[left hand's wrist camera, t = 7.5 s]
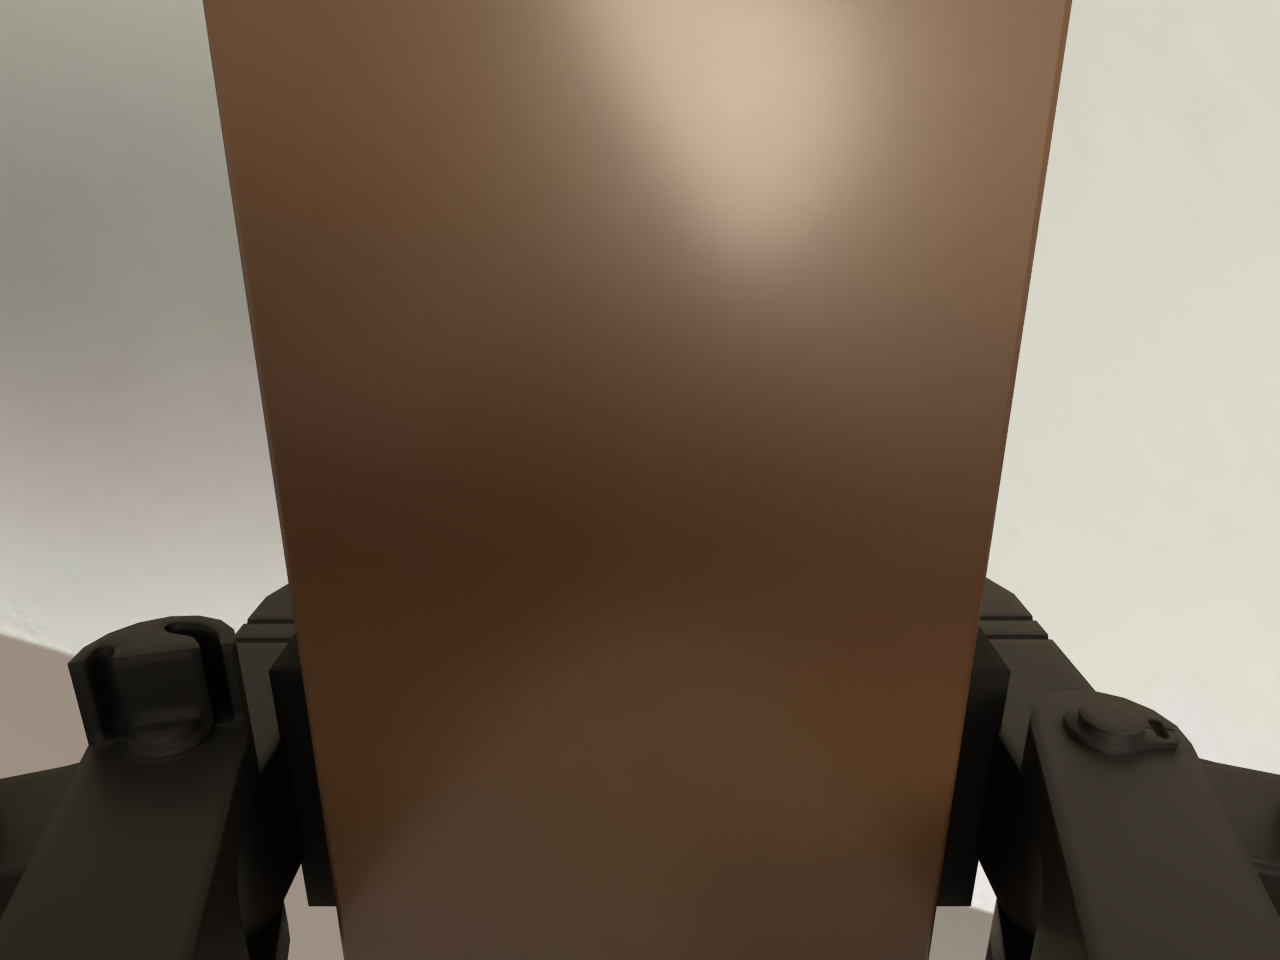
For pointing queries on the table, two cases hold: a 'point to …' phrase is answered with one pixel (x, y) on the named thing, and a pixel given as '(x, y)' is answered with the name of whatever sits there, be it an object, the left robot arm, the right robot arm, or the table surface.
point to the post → (636, 448)
